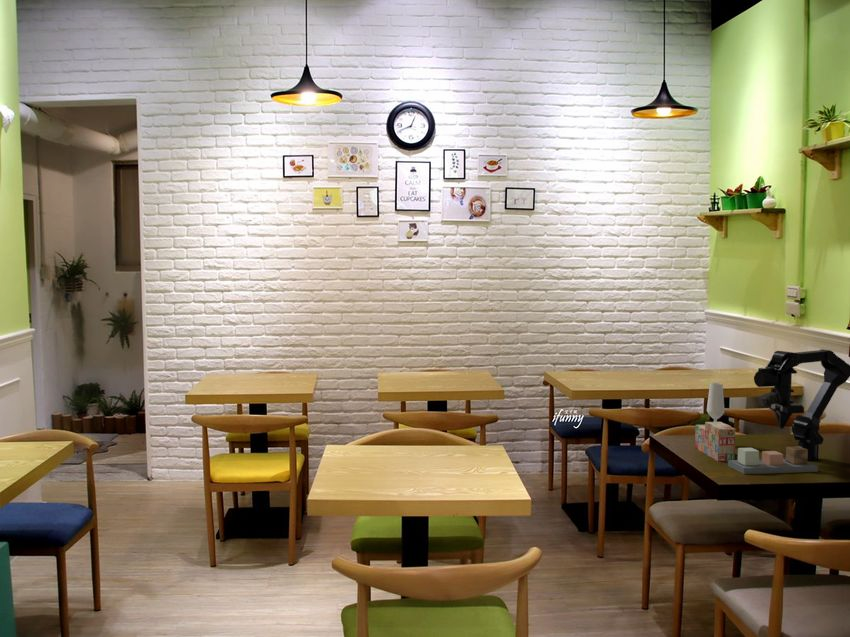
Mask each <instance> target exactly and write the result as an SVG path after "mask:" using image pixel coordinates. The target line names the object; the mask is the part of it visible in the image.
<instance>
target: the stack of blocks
mask: <svg viewBox="0 0 850 637" xmlns="http://www.w3.org/2000/svg"><path fill="white" fill-rule="evenodd" d="M694 433H695V436H694V439H695V440H694V442H695V443H694V448H695V449H697V450H699V451H700V452H701V453H702V454H705V455H707V456H708V457H710V458H712V459H713V460H714V461H716V462H728V460H735V455H736V454H735V449H736V448H735V445H736V428H734V427H732V426H731V425H729V424H726V423H724V422H722V421H717V422H714V421H705V423H704V424H695V425H694Z"/></svg>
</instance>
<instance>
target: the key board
mask: <svg viewBox="0 0 850 637" xmlns="http://www.w3.org/2000/svg"><path fill="white" fill-rule="evenodd" d="M727 466H728V467H729V468H731V469H732V470H733V469H734V470H735V471H737V472H738V473H741V474H743V475H755V474H760V475H761V474H787V473H791V474H793V473H815V472H819V466H818V465H816V464H814V463H812V462H810V461H807V464H792V463H790V462H788V461H786V458H783V465H767V464H765V463H763V462H762V458H761V459H760V458H759V465H749V466H745V465H743V464H741V463H739V462H738V459H734V460H728V461H727Z"/></svg>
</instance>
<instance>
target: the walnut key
mask: <svg viewBox="0 0 850 637" xmlns="http://www.w3.org/2000/svg"><path fill="white" fill-rule="evenodd" d="M785 459H786V461H788V462H790V463H792V464H807V462H808V460H807V459H808V449H805V448H802V447H800V446H797V445H795V446H786V447H785Z"/></svg>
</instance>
